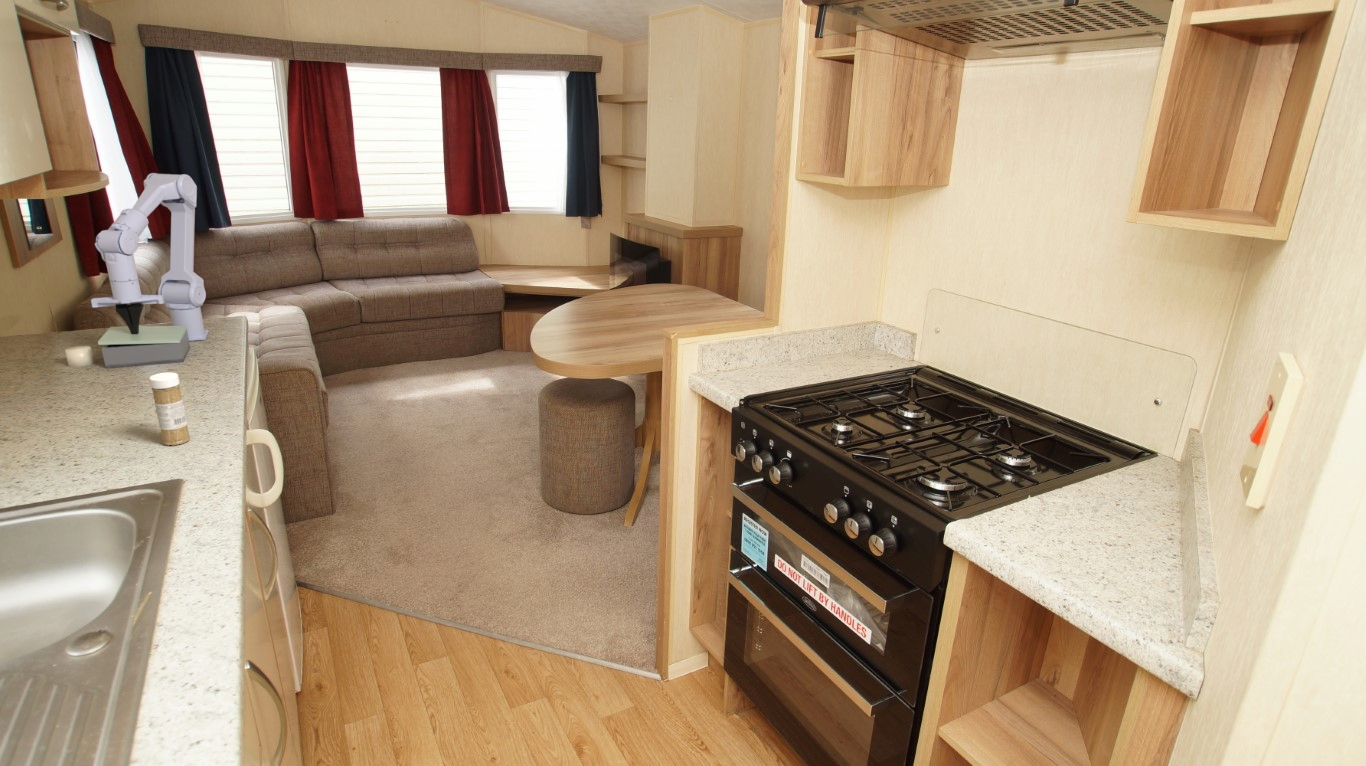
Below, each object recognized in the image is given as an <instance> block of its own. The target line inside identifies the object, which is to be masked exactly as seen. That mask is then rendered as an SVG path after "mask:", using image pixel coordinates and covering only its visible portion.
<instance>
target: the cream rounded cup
mask: <svg viewBox="0 0 1366 766" xmlns="http://www.w3.org/2000/svg"><path fill="white" fill-rule="evenodd" d="M91 347H92V346H90V345H77V346H71V347H68V348H65V349H64V353H65V358H66V360H67V361H66V362H67V364H68V367H70V368H82V366H83V367H87V366H90V365H91V366H92V365H94V364H95V359H94V356H93V352H92V348H91Z"/></svg>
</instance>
